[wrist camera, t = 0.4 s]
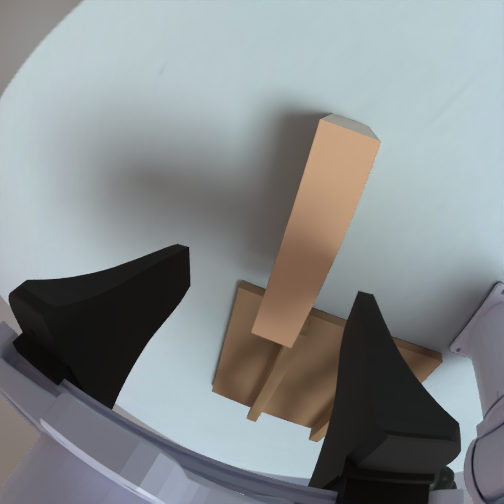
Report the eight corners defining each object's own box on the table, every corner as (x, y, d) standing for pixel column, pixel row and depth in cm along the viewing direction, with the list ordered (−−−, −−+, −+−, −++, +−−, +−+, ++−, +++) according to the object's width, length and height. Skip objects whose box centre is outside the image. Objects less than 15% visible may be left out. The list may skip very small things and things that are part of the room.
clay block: (369, 126, 17) (381, 141, 10) (313, 274, 23) (291, 348, 17) (332, 113, 17) (319, 119, 10) (283, 263, 24) (251, 332, 17)
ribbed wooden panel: (441, 353, 22) (445, 377, 20) (355, 433, 32) (352, 452, 30) (242, 280, 25) (229, 301, 23) (214, 385, 35) (205, 403, 33)
